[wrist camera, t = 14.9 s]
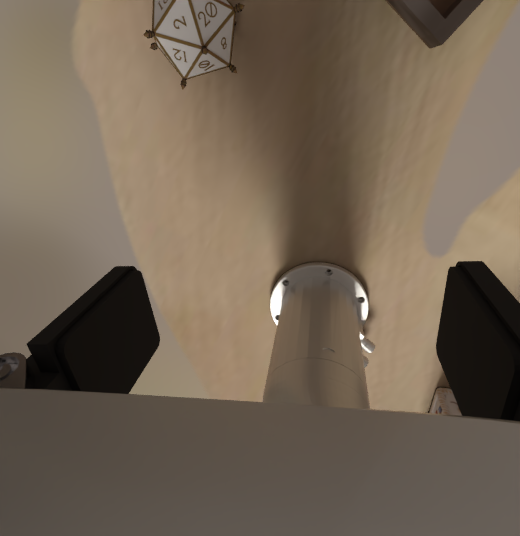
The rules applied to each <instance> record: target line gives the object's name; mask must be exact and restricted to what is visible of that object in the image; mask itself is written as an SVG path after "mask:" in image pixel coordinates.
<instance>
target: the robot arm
mask: <svg viewBox="0 0 520 536" xmlns="http://www.w3.org/2000/svg"><path fill="white" fill-rule="evenodd" d="M328 269H330V271H328ZM286 280H288V281H286ZM270 311H271V315H272V318H273V320H274V322H275V324H276V325H277V329H276V334H275V339H274V345H273V350H272V355H271V360H270V365H269V370H268V375H267V380H266V385H265V389H264V394H263V402H249V401H234V400H218V399H201V398H184V397H168V396H152V395H136V394H129V392H130V391H131V389H132V387H133V386H134V384H135V383H136V381H137V379H138V378H139V376H140V375H141V373H142V371H143V370H144V368H145V367H146V365H147V364H148V362H149V361H150V359H151V357H152V356H153V354H154V353H155V351H156V349H157V348H158V346H159V342H160V336H159V332H158V329H157V325H156V322H155V318H154V315H153V311H152V308H151V304H150V301H149V297H148V294H147V290H146V286H145V283H144V279H143V276H142V273H141V272H140V271H138V270H137V269H136V268H135V267H134V266H117V267H114V268H113V269H112V270H111V271H110V272H108V274H106V275H105V276H104V277H103V278H102V279H100V280H99V281H98V282H97V283H96V284H95V285H94V286H92V287H91V288H90V289H89V290H88V291H87V292H86V293H84V294H83V295H82V296H81V297H80V298H79V299H78V300H76V301H75V302H74V303H73V304H72V305H71V306H70V307H68V308H67V309H66V310H65V311H64V312H63V313H62V314H60V315H59V316H58V317H57V318H56V319H55V320H53V321H52V322H51V323H50V324H49V325H48V326H47V327H46V328H44V329H43V330H42V331H41V332H40V333H39V334H37V335H36V336H35V337H34V338H33V339H32V340H31V341H30V342H28V343H27V346H28V348H29V350H30V352H31V354H32V355H31V356H30V357H28V358H27V359H26V357H25V356H24V355H23V354H21V353H14V352H13V353H5V354H2V355H0V536H520V303H519V302H518V301H517V300H516V299H515V298H514V296H513V295H512V294H511V293H510V292H509V291H508V290H507V288H506V287H505V286H504V285H503V284H502V283H501V282H500V280H499V279H498V278H497V277H496V276H495V275H494V274H493V273H492V271H491V270H490V269H489V268H488V267H487V266H486V265H485V263H484V262H482V261H464V262H458V263H457V264H456V266H455V267H450V268H449V270H448V275H447V281H446V288H445V294H444V300H443V306H442V312H441V318H440V324H439V330H438V337H437V343H436V350H437V355H438V358H439V361H440V363H441V365H442V368H443V370H444V373H445V375H446V378H447V380H448V383H449V385H450V387H451V390H452V392H453V395H454V397H455V400H456V402H457V404H458V407H459V409H460V412H461V414H462V416H459V415H449V414H434V413H419V412H404V411H389V410H374V409H370V405H369V398H368V390H367V383H366V375H365V367H366V366H367V364H368V358H366V357H365V356H364V355H363V353H362V349H364V350H365V351H366V352H367V353H371V352H372V351H373V350H374V349H375V345H374V344H373V343H372V342H371V341H370V340H369V339H366V338H365V337H364V333H363V325H364V324H365V322H366V319H367V317H368V311H369V304H368V297H367V293H366V291H365V289H364V287H363V285H362V283H361V282H360V281H359V280H358V278H357V277H355V276H354V275H353V274H352V273H351V272H349V271H348V270H346V269H344V268H342V267H340V266H337V265H334V264H329V263H324V262H312V263H306V264H302V265H299V266H296V267H294V268H292V269H291V270H289V271H287V272H286V273H285V274H284V275H282V276H281V277H280V278H279V280H278V281H277V282H276V284H275V286H274V288H273V290H272V294H271V298H270Z"/></svg>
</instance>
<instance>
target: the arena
mask: <svg viewBox="0 0 520 536" xmlns="http://www.w3.org/2000/svg"><path fill="white" fill-rule="evenodd" d="M386 1H387V3H388V4H389V5H390V6H391V7H392V8H393V9H394V10H395V11H396V12H397V13H398V15H399V16H400V17H401V18H402V19H403V20H404V21H405V22H406V23H407V24H408V25H409V27H410V28H411V29H412V30H413V31H414V32H415V33H416V34H417V35H418V36H419V37H420V38H421V40H422V41H423V42H424V43H425V44H426V45H427V46H428V47H429V48H433V47H436V46H439V45H442V44H443V43H444V42H445V41H446V40H447V39H448V38H449V37H450V36H451V35H452V34H453V32H454V31H455V30H456V29H457V28H458V27H459V26H460V25H461V24H462V23H463V22H464V21H465V20H466V18H467V17H468V16H469V15H470V14H471V13H472V12H473V11H474V10H475V9H476V8H477V7H478V6H479V5H480V3H481V2H482V1H483V0H386Z"/></svg>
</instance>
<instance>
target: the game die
mask: <svg viewBox="0 0 520 536" xmlns="http://www.w3.org/2000/svg"><path fill="white" fill-rule="evenodd" d="M244 6H245V5H241V4H239V3H238V5H237V4H236V6H235V7H233V6H232V5H231V3H230V2H229V1H228V0H153V18H152V31H150V30H149V31H148V30H146V32H145V33H144V36H146V37H147V38H152V37H154V39H155V42H156V43H152V44H151V47H150V48H151V49H153V50H155V49H157V48H159V49H160V50H161V51H162V53H163V54H164V55H165V56H166V58H167V59H168V60H169V62H170V63H171V64H172V65H173V67H174V68H175V69H176V70H177V72H178V73H179V74H180V75H181V77H182V78H183V79H182V81H181V87H182V89H184V88H185V86H186V84H187V83H186V80H187V79H190V78H193V77H196V76H200V75H203V74H206V73H209V72H213V71H216V70H219V69H223V68H226V67H229V68H230V70H231V71H232V72H234V73H237V71H236V67H234V65H231V56H232V45H233V35H234V26H235V25H236V22H235V13H236V12H239V11H240V12H241V11H242V9H243V7H244Z"/></svg>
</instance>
